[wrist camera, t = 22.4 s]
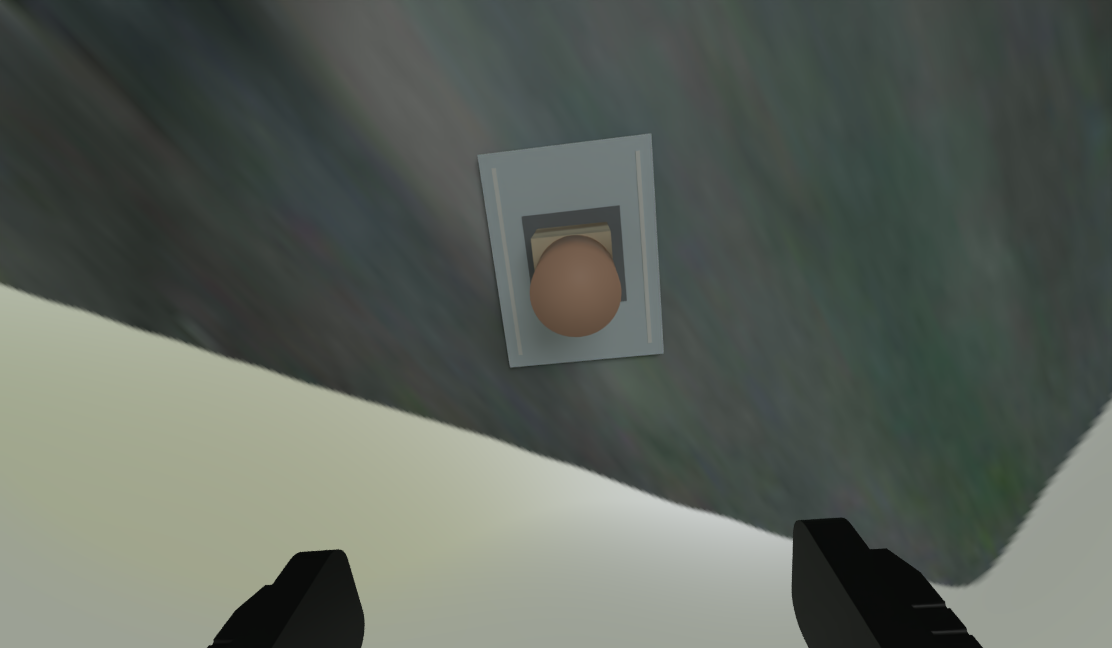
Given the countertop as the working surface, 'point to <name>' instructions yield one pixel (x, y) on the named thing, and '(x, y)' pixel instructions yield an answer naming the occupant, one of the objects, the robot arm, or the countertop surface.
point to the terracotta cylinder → (575, 287)
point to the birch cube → (549, 235)
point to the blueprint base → (563, 200)
